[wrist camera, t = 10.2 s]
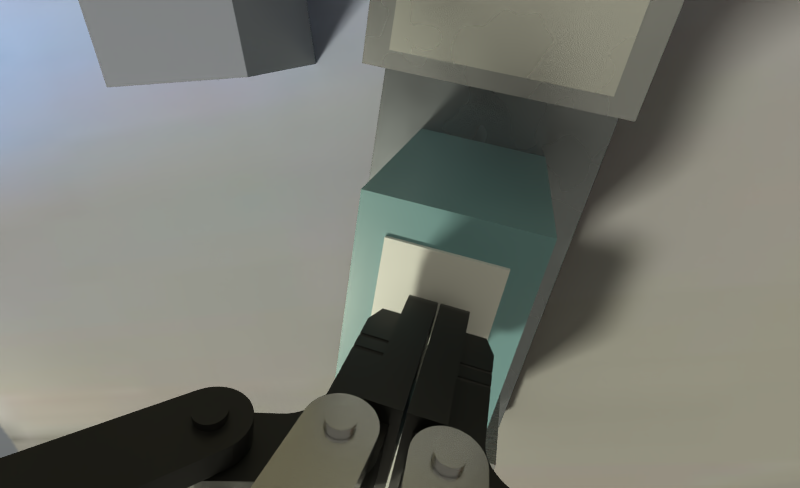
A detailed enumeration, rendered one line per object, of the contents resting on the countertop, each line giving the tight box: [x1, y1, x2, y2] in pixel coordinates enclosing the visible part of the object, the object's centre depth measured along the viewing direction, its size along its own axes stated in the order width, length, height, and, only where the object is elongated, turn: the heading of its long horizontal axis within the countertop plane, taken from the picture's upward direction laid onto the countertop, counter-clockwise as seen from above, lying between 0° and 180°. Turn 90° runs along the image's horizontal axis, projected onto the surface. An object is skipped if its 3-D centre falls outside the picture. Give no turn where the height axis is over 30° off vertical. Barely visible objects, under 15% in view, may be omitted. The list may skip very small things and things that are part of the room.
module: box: [335, 128, 557, 428], centre depth 15 cm, size 6×4×7 cm
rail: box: [331, 0, 684, 488], centre depth 15 cm, size 20×8×7 cm, turn 170°
